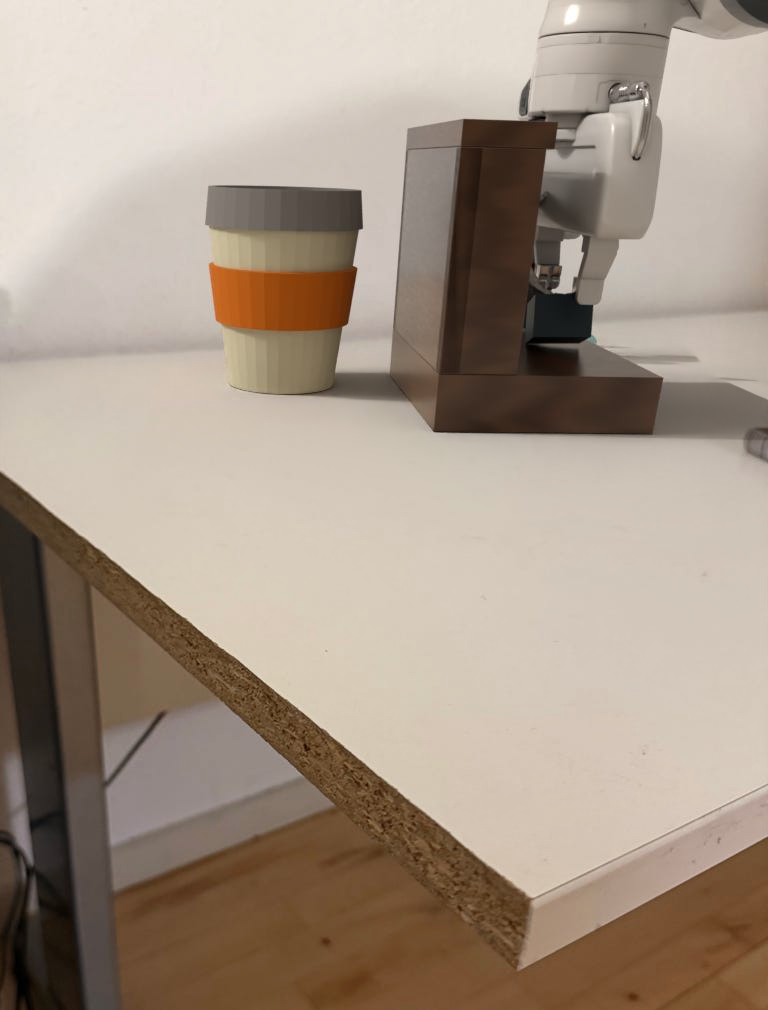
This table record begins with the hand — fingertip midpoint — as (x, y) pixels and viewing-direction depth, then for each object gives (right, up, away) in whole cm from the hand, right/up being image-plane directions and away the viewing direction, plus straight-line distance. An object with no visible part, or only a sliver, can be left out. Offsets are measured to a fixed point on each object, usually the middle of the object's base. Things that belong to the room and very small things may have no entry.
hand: (564, 295), depth 73 cm
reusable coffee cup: (-22, -5, +8) cm, 24 cm away
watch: (0, -3, +2) cm, 4 cm away
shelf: (-4, -7, +3) cm, 9 cm away
